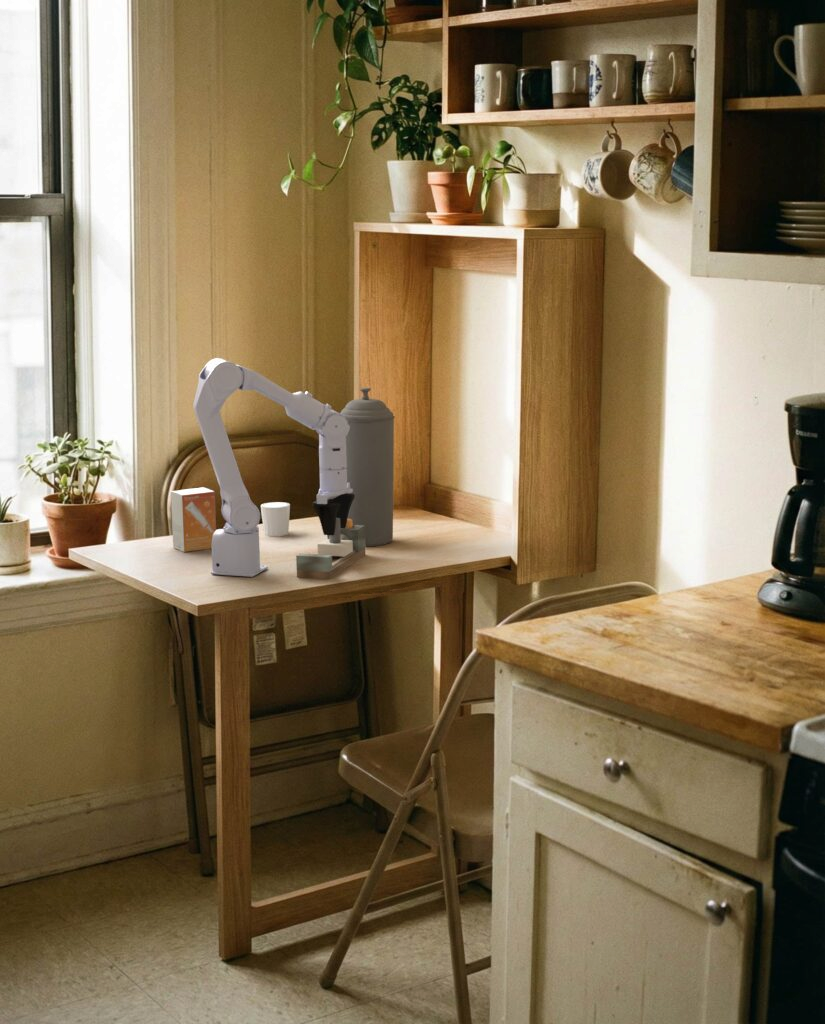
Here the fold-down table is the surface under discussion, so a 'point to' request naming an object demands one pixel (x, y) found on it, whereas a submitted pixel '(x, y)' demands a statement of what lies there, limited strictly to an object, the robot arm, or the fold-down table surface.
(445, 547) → the fold-down table surface
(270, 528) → the white tapered cylinder
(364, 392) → the canister
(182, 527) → the small box
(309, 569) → the rail base
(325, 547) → the carriage
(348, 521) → the button
